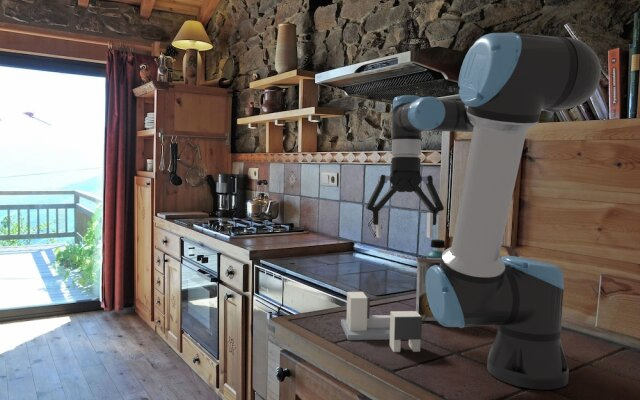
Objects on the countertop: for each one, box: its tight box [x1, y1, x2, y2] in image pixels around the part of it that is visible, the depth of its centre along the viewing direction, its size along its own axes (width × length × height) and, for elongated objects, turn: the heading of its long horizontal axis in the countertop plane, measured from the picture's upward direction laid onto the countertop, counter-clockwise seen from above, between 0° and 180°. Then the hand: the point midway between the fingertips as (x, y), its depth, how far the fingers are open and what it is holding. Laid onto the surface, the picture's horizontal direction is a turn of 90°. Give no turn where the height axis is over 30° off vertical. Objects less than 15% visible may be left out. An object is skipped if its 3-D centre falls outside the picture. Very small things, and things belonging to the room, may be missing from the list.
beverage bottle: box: [426, 239, 446, 258], centre depth 147 cm, size 6×7×20 cm
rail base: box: [340, 291, 390, 341], centre depth 125 cm, size 12×16×9 cm
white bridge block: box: [388, 310, 423, 353], centre depth 113 cm, size 6×5×8 cm
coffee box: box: [415, 257, 441, 322], centre depth 137 cm, size 9×6×16 cm
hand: (404, 237), depth 132 cm, fingers open, 13 cm apart
